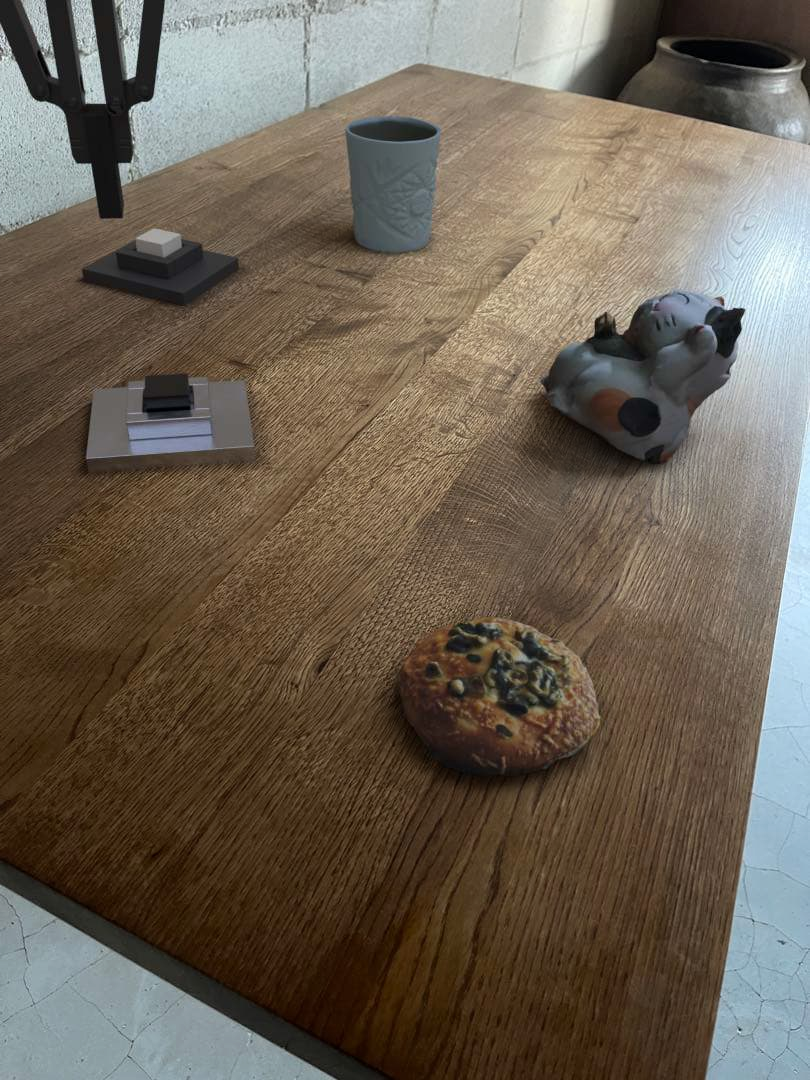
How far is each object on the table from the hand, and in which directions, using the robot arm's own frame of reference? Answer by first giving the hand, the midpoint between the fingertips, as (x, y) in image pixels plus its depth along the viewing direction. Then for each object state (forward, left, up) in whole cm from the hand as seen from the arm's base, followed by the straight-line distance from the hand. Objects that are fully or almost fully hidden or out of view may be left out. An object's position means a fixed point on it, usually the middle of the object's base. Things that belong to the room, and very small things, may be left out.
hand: (112, 210), depth 63 cm
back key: (-8, +27, -14) cm, 31 cm away
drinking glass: (+13, +43, -17) cm, 48 cm away
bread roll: (+30, -24, -17) cm, 42 cm away
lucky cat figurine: (+38, +8, -17) cm, 42 cm away
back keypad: (-8, +27, -17) cm, 32 cm away
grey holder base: (+3, -1, -17) cm, 17 cm away
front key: (+3, -1, -14) cm, 14 cm away
